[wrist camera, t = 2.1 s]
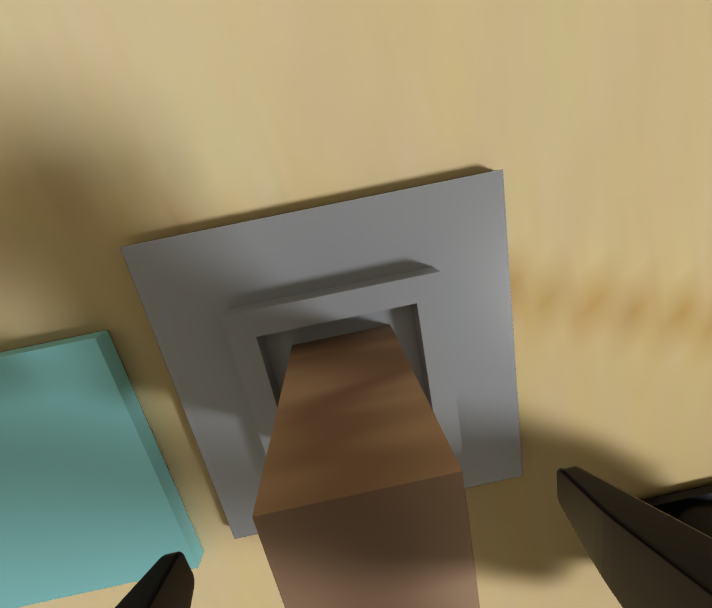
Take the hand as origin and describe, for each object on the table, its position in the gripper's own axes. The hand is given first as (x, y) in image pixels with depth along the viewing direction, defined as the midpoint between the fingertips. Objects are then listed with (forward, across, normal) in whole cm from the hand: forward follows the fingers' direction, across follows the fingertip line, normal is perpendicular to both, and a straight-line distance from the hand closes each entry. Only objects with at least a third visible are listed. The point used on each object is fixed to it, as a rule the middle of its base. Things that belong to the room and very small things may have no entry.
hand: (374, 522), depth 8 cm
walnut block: (+7, 0, 0) cm, 7 cm away
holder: (+7, 0, 0) cm, 7 cm away
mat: (+7, +15, +2) cm, 17 cm away
